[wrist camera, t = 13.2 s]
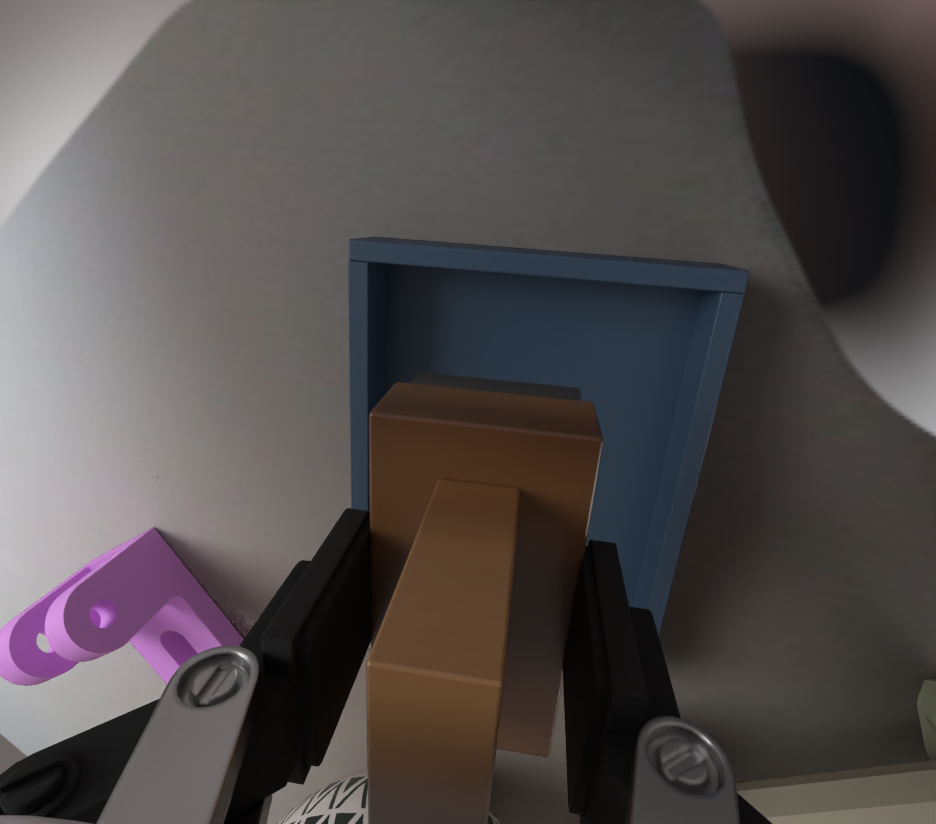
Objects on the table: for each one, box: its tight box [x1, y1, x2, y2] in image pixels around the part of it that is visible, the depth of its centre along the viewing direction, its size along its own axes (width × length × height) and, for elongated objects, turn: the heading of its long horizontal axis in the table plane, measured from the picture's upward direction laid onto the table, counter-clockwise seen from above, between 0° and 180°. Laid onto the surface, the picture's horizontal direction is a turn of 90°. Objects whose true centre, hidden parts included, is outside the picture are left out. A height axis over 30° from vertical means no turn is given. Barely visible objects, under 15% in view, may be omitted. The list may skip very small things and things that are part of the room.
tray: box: [348, 237, 749, 644], centre depth 24 cm, size 20×15×3 cm
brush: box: [366, 372, 604, 824], centre depth 11 cm, size 8×4×8 cm, turn 176°
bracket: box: [0, 527, 244, 686], centre depth 29 cm, size 13×6×7 cm, turn 30°
